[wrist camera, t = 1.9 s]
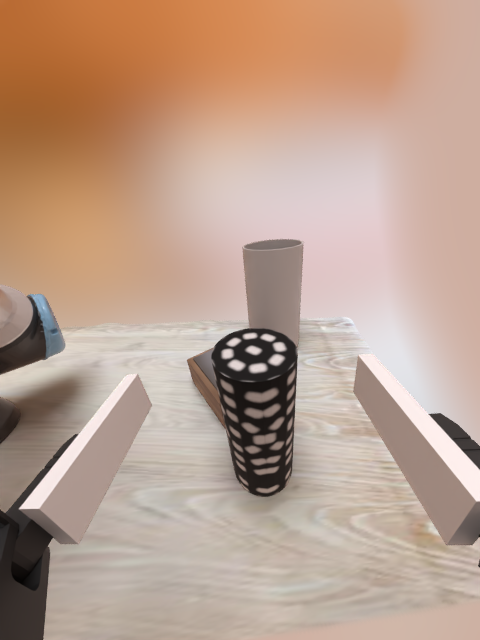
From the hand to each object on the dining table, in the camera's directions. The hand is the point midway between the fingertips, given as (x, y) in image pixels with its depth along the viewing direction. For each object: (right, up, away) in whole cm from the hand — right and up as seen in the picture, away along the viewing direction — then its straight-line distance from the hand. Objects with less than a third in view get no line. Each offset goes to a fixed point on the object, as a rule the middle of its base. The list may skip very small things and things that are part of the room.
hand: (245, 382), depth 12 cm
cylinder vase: (+9, -2, +42) cm, 43 cm away
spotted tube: (+3, -17, +17) cm, 24 cm away
